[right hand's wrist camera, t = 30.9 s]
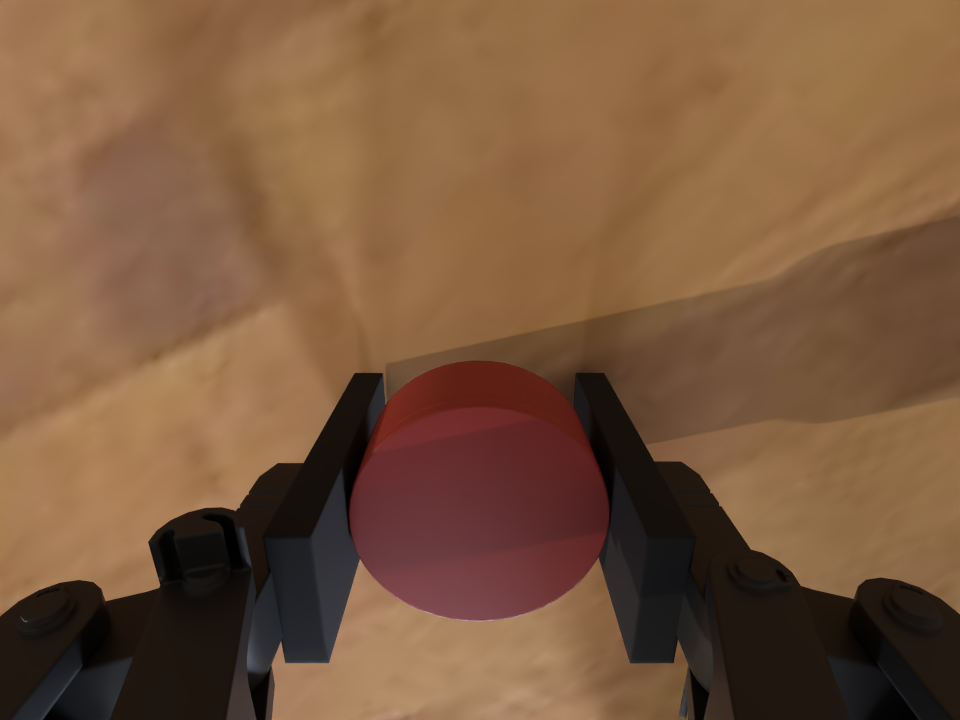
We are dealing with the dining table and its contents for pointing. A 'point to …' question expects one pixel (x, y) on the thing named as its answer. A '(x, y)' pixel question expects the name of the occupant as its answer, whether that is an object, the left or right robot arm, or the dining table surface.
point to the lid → (478, 494)
